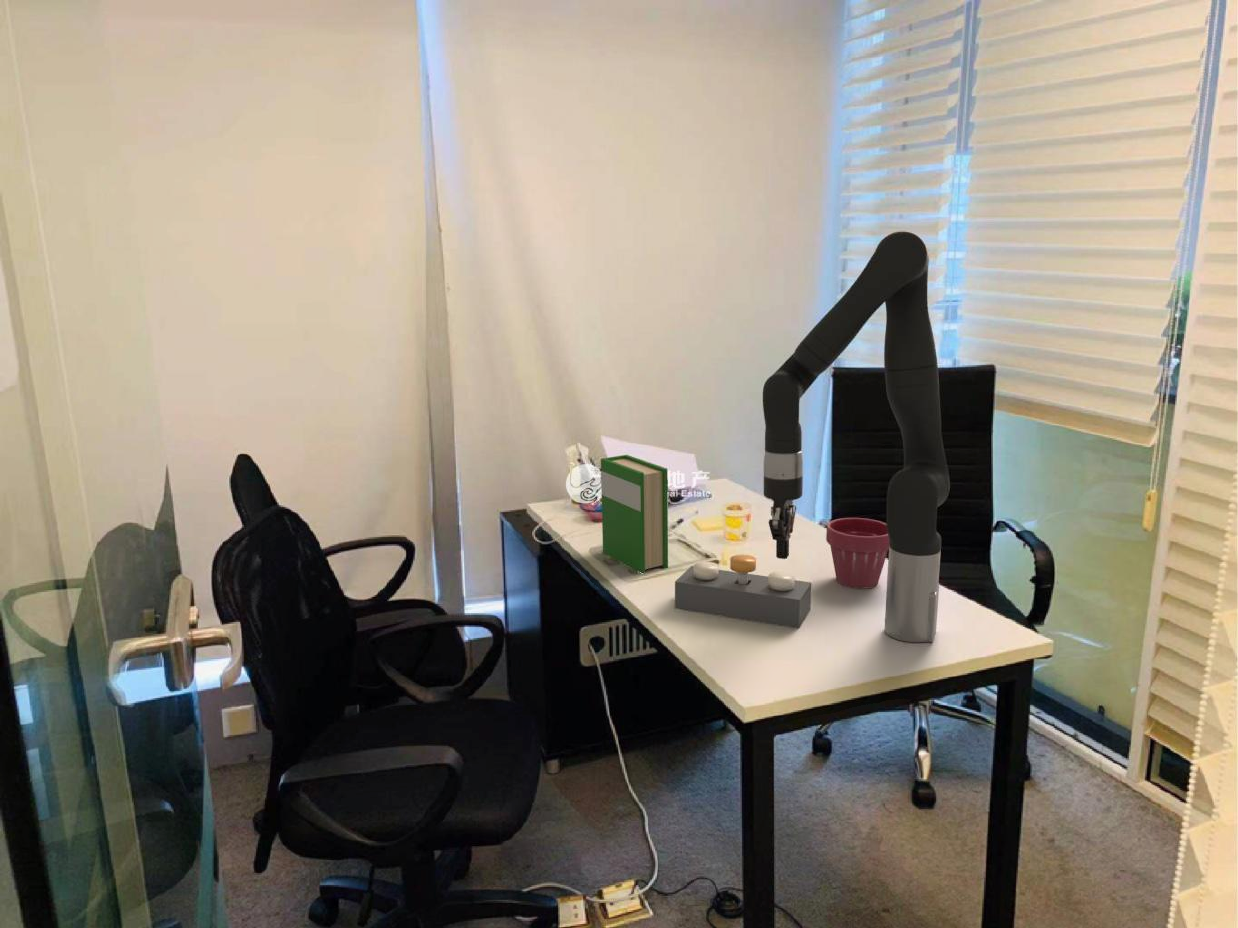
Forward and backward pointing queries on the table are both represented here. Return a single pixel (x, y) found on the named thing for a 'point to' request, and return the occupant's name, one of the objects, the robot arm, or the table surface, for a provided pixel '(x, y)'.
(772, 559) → the table surface
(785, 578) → the near knob
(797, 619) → the control block
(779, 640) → the table surface
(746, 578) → the middle knob
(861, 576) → the plant pot
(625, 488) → the hardback book
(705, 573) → the far knob
